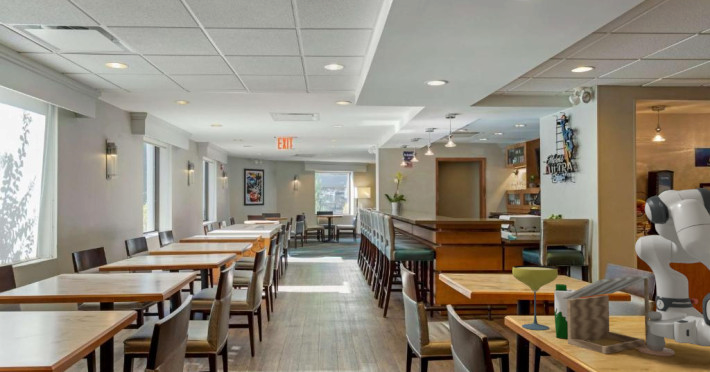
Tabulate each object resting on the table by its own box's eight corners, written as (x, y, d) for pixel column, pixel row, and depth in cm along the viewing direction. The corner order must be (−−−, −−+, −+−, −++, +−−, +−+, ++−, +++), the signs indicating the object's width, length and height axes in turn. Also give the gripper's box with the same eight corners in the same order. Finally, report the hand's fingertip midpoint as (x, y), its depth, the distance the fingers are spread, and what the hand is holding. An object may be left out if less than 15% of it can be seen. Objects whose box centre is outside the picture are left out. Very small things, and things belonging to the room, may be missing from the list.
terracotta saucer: (657, 347, 183) (657, 344, 183) (682, 355, 172) (682, 353, 172) (630, 348, 181) (630, 346, 181) (653, 357, 170) (653, 354, 170)
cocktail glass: (509, 322, 223) (508, 265, 225) (551, 323, 222) (550, 265, 223) (518, 331, 205) (517, 269, 207) (564, 332, 204) (563, 270, 205)
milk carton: (557, 333, 203) (556, 283, 204) (582, 336, 198) (581, 284, 199) (553, 338, 195) (552, 285, 196) (578, 341, 190) (577, 287, 192)
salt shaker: (668, 352, 173) (667, 313, 173) (650, 351, 174) (649, 313, 174) (661, 347, 178) (660, 310, 179) (643, 347, 180) (642, 309, 180)
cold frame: (611, 335, 199) (610, 270, 200) (651, 345, 185) (649, 275, 186) (562, 344, 186) (561, 274, 187) (601, 355, 172) (599, 280, 173)
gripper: (711, 317, 170) (669, 310, 183) (676, 323, 161) (634, 315, 173) (712, 336, 170) (670, 328, 182) (676, 343, 160) (634, 334, 173)
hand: (652, 322), depth 178 cm, fingers closed on salt shaker, 3 cm apart
